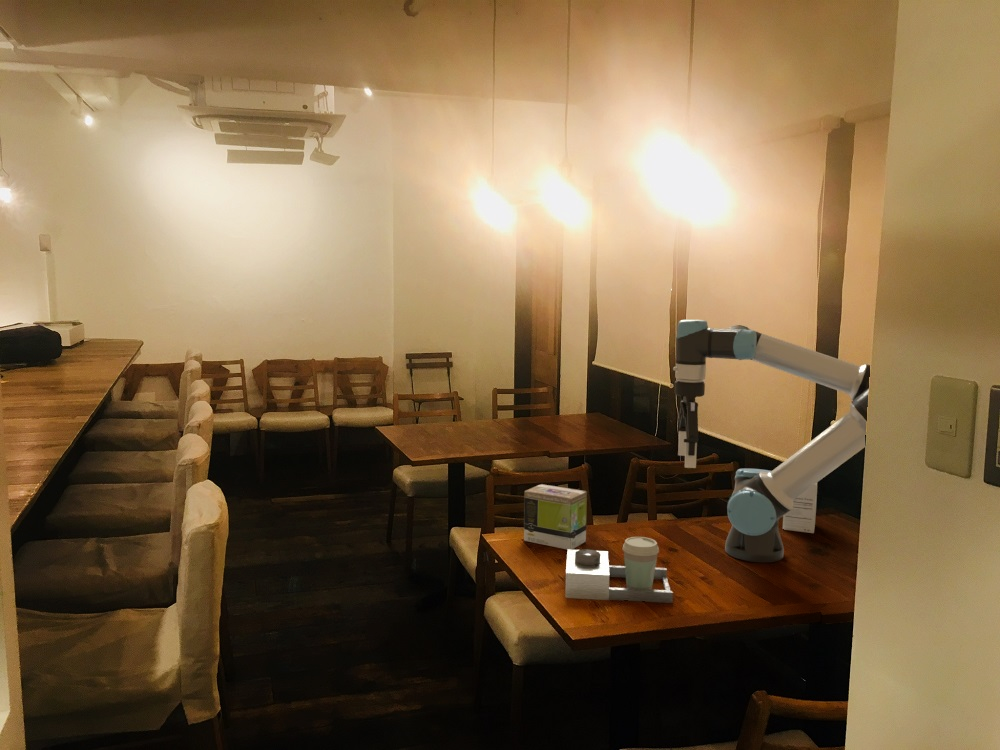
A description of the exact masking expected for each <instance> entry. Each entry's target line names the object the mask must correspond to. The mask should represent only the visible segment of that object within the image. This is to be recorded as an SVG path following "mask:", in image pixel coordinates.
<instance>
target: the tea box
mask: <svg viewBox="0 0 1000 750" xmlns="http://www.w3.org/2000/svg"><path fill="white" fill-rule="evenodd" d="M523 496H524V497H523V498H524V504H523V505H524V507H523V509H524V510H523V515H524V516H523V540H524V541H525V542H530V543H534V544H539V545H543V546H548V547H553V548H558V549H562V550H568V549H570V550H575V548H577V547H579V546H581V545H582V544H584V543H586V540H587V506H588V505H587V502H588V497H587V496H588V491H586V490H582V489H581V490H580V489H576V488H570V487H562V486H555V485H549V484H548V485H547V484H543V483H541V484H538V485H536V486H533V487H531V488H529V489H526V490H524V495H523Z"/></svg>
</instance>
